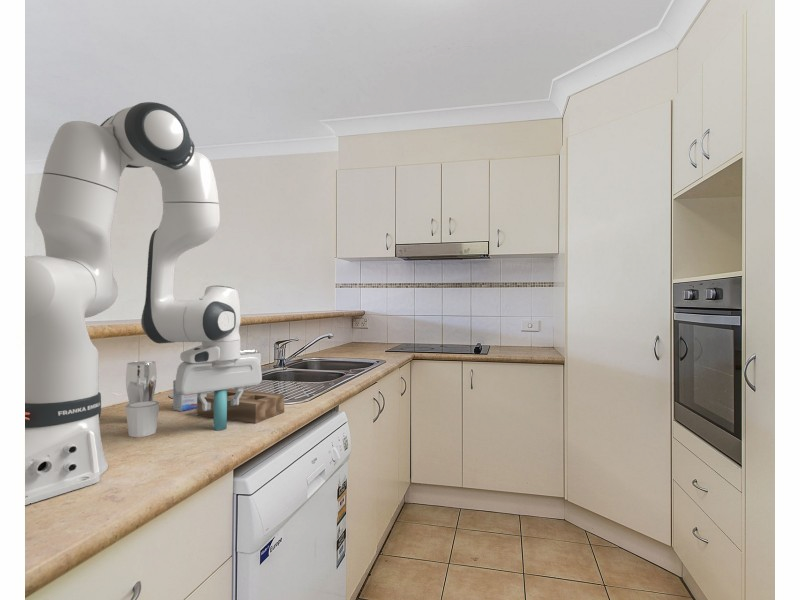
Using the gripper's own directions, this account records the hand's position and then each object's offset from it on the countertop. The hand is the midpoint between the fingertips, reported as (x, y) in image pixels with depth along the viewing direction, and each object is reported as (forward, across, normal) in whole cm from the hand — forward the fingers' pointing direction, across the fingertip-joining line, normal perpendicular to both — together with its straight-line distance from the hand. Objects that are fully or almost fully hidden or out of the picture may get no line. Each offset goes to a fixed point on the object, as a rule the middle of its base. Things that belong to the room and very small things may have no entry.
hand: (220, 407), depth 106 cm
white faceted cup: (+5, +15, -9) cm, 18 cm away
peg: (+5, 0, 0) cm, 5 cm away
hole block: (+5, -10, -10) cm, 15 cm away
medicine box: (+5, -2, -26) cm, 27 cm away
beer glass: (+5, +12, -22) cm, 26 cm away
